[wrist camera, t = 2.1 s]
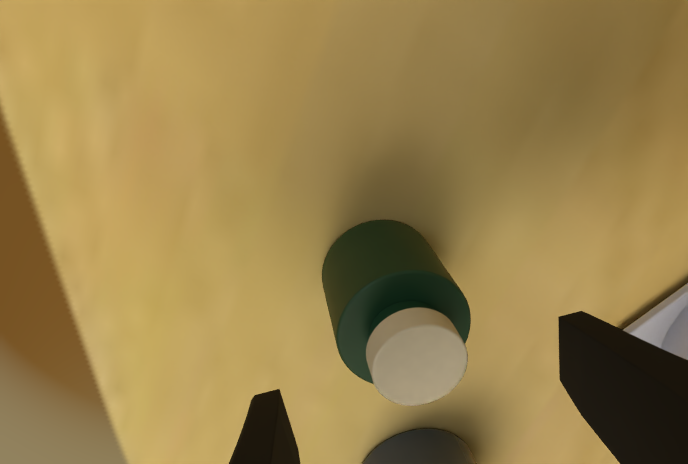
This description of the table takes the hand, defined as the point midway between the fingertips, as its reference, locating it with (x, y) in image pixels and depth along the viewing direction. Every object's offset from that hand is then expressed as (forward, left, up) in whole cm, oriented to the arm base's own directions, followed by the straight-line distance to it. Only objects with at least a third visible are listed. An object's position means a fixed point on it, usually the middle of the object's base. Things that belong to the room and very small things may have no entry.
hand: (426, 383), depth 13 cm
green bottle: (0, 0, -6) cm, 6 cm away
